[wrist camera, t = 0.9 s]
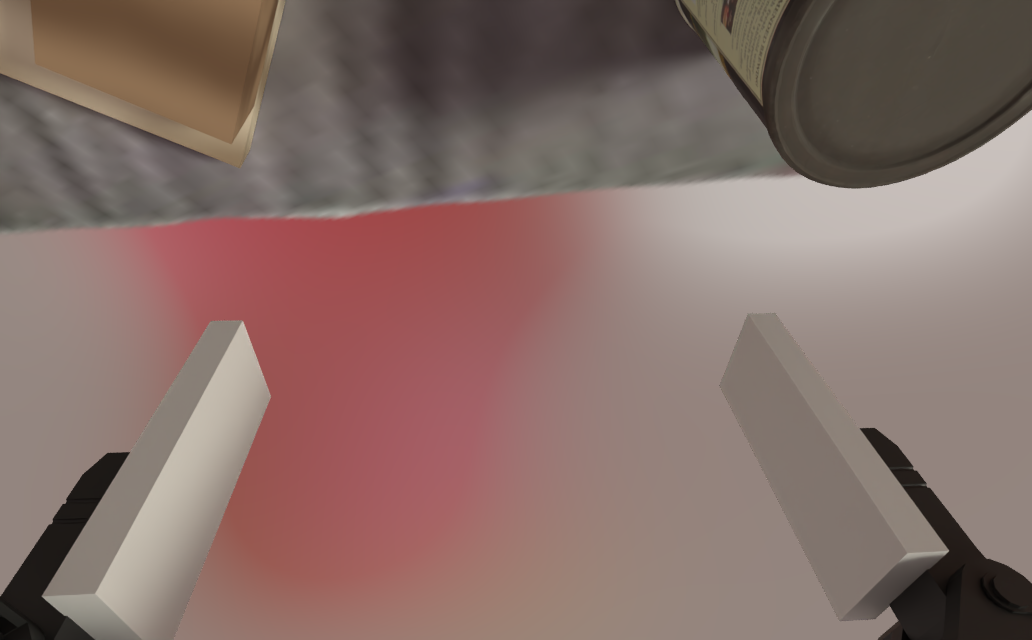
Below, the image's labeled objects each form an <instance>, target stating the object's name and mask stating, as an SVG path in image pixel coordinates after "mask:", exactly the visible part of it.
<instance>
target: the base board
mask: <svg viewBox="0 0 1032 640" xmlns="http://www.w3.org/2000/svg"><path fill="white" fill-rule="evenodd" d="M285 1H286V0H279V1H278V5H277V9H276V14H275V18H274V22H273V27H272V31H271V35H270V40H269V44H268V48H267V53H266V57H265V61H264V66H263V70H262V74H261V79H260V83H259V87H258V92H257V96H256V100H255V105H254V107H253V109H252V111H251V113H250V114H249V116H248V118H247V119H246V121H245V123H244V124H243V126H242V128H241V129H240V131H239V133H238V134H237V136H236V138H235V139H234V141H233V143H232V144H229V143H226V142H224V141H222V140H219V139H217V138H214V137H212V136H209V135H207V134H205V133H202V132H200V131H197V130H195V129H192V128H190V127H188V126H185V125H183V124H180V123H178V122H175V121H173V120H170V119H168V118H166V117H163V116H161V115H158V114H156V113H153V112H151V111H149V110H146V109H144V108H141V107H139V106H136V105H134V104H132V103H129V102H127V101H124V100H122V99H119V98H117V97H115V96H112V95H110V94H107V93H105V92H102V91H100V90H98V89H95V88H93V87H90V86H88V85H85V84H83V83H80V82H78V81H76V80H73V79H71V78H68V77H66V76H63V75H61V74H59V73H56V72H54V71H51V70H49V69H46V68H44V67H42V66H39V65H37V64H35V56H34V42H33V29H32V15H31V2H30V0H0V73H1V74H4V75H6V76H9V77H11V78H14V79H16V80H19V81H21V82H24V83H26V84H29V85H31V86H34V87H36V88H39V89H41V90H44V91H47V92H49V93H52V94H54V95H57V96H59V97H62V98H64V99H67V100H69V101H72V102H74V103H77V104H79V105H82V106H84V107H87V108H89V109H92V110H94V111H97V112H99V113H102V114H105V115H107V116H110V117H112V118H115V119H117V120H120V121H122V122H125V123H127V124H130V125H132V126H135V127H137V128H140V129H142V130H145V131H147V132H150V133H152V134H155V135H157V136H160V137H163V138H165V139H168V140H170V141H173V142H175V143H178V144H180V145H183V146H185V147H188V148H190V149H193V150H195V151H198V152H200V153H203V154H205V155H208V156H210V157H213V158H216V159H218V160H221V161H223V162H226V163H228V164H231V165H233V166H236V167H238V168H240V167H241V166H242V164H243V162H244V160H245V158H246V156H247V155H248V153H249V151H250V147H251V143H252V139H253V134H254V130H255V126H256V122H257V118H258V114H259V109H260V105H261V101H262V97H263V93H264V89H265V84H266V80H267V76H268V72H269V68H270V64H271V59H272V55H273V51H274V47H275V43H276V39H277V34H278V30H279V26H280V22H281V18H282V14H283V9H284V5H285Z"/></svg>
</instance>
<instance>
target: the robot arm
mask: <svg viewBox="0 0 1032 640" xmlns="http://www.w3.org/2000/svg"><path fill="white" fill-rule="evenodd" d="M719 386H720V388H721V390H722V392H723V394H724V395H725V398H726V400H727V401H728V403H729V405H730V407H731V409H732V411H733V413H734V415H735V417H736V419H737V421H738V423H739V425H740V427H741V429H742V431H743V433H744V435H745V437H746V438H747V440H748V442H749V445H750V447H751V449H752V451H753V452H754V454H755V456H756V458H757V460H758V462H759V464H760V466H761V468H762V470H763V472H764V474H765V476H766V478H767V480H768V482H769V484H770V486H771V488H772V490H773V492H774V494H775V495H776V498H777V500H778V502H779V503H780V505H781V507H782V509H783V511H784V513H785V515H786V517H787V519H788V521H789V523H790V525H791V527H792V529H793V531H794V533H795V535H796V537H797V539H798V541H799V543H800V545H801V547H802V549H803V551H804V553H805V555H806V557H807V558H808V560H809V562H810V564H811V566H812V568H813V570H814V572H815V574H816V576H817V578H818V580H819V582H820V584H821V586H822V588H823V589H824V592H825V594H826V596H827V598H828V600H829V601H830V604H831V606H832V608H833V609H834V611H835V613H836V615H837V617H838V619H839V621H851V620H868V619H876V618H877V617H878V616H879V615H880V614H881V613H882V612H883V611H884V610H885V609H886V608H888V607H889V606H890V607H891V608H892V610H893V612H894V613H895V615H896V617H897V619H898V620H899V621H898V622H897V623H895V625H893V626H892V627H891V628H890V629H889V630H887V631H886V632H885V633H884V634H883V635H882V636H881V637H879V638H878V640H1032V583H1030V582H1029V581H1028V580H1027V579H1026V578H1025V577H1024V576H1023V575H1021V574H1020V573H1018V572H1016V571H1015V570H1013V569H1012V568H1010V567H1008V566H1007V565H1004V564H1002V563H999V562H996V561H993V560H991V559H986V558H985V557H984V556H983V555H982V554H981V552H980V551H979V550H978V549H977V548H976V546H975V545H974V544H973V543H972V541H971V540H970V539H969V538H968V536H967V535H966V533H965V532H964V531H963V530H962V528H961V527H960V526H959V524H958V523H957V522H956V521H955V519H954V518H953V517H952V515H951V514H950V513H949V512H948V510H947V509H946V508H945V507H944V505H943V504H942V503H941V501H940V500H939V499H938V498H937V496H936V495H935V494H934V492H933V491H932V490H931V489H930V488H927V486H926V482H925V481H924V480H923V478H922V477H921V476H920V474H919V473H918V472H917V471H914V470H913V466H912V464H911V463H910V462H909V460H908V459H907V458H906V456H905V455H904V454H903V453H902V451H901V450H900V449H899V447H898V446H897V445H896V444H894V443H893V442H892V441H891V440H889V439H888V438H887V437H885V436H884V435H883V434H882V433H880V432H879V431H878V430H877V429H875V428H859V427H858V426H857V425H856V423H855V422H854V420H853V419H852V417H851V416H850V415H849V413H848V412H847V411H846V409H845V408H844V407H843V405H842V404H841V403H840V401H839V400H838V398H837V397H836V396H835V394H834V393H833V392H832V390H831V389H830V387H829V386H828V385H827V383H826V382H825V381H824V379H823V378H822V377H821V375H820V374H819V372H818V371H817V370H816V368H815V367H814V366H813V364H812V363H811V362H810V360H809V359H808V357H807V356H806V355H805V353H804V352H803V351H802V349H801V348H800V347H799V345H798V344H797V343H796V341H795V340H794V339H793V337H792V336H791V334H790V333H789V331H788V330H787V329H786V327H785V326H784V325H783V323H782V322H781V321H780V319H779V318H778V317H777V315H776V314H775V313H772V314H771V313H766V314H748V315H747V317H746V320H745V322H744V325H743V328H742V330H741V333H740V335H739V337H738V340H737V343H736V345H735V348H734V350H733V353H732V355H731V358H730V360H729V363H728V365H727V368H726V370H725V373H724V375H723V378H722V380H721V383H720V385H719ZM270 397H271V396H270V393H269V390H268V387H267V385H266V382H265V379H264V377H263V374H262V371H261V369H260V366H259V363H258V360H257V358H256V355H255V352H254V350H253V347H252V345H251V342H250V339H249V336H248V334H247V331H246V328H245V325H244V323H243V321H211V322H210V323H209V325H208V327H207V328H206V330H205V331H204V333H203V335H202V336H201V338H200V340H199V341H198V343H197V344H196V346H195V348H194V350H193V351H192V353H191V354H190V356H189V358H188V359H187V361H186V362H185V364H184V366H183V367H182V369H181V371H180V372H179V374H178V376H177V377H176V379H175V380H174V382H173V384H172V385H171V387H170V388H169V390H168V392H167V393H166V395H165V397H164V398H163V400H162V401H161V403H160V405H159V406H158V408H157V410H156V411H155V413H154V414H153V416H152V418H151V419H150V421H149V423H148V424H147V426H146V427H145V429H144V431H143V433H142V434H141V436H140V437H139V439H138V441H137V442H136V444H135V446H134V447H133V449H132V450H131V452H123V453H107V454H106V455H105V456H104V457H102V458H101V459H100V460H99V461H98V462H97V463H96V464H94V465H93V466H92V467H91V468H90V469H89V470H88V471H86V472H85V473H84V474H83V475H82V476H81V478H80V480H79V481H78V482H77V484H76V485H75V487H74V488H73V490H72V491H71V493H70V494H69V496H68V497H67V499H66V500H67V502H66V504H63V505H62V506H61V508H60V509H59V511H58V512H57V514H56V515H55V516H54V518H53V523H52V524H50V525H48V527H47V529H46V530H45V531H44V533H43V534H42V536H41V537H40V539H39V540H38V542H37V543H36V545H35V546H34V548H33V549H32V551H31V552H30V554H29V555H28V557H27V558H26V560H25V561H24V563H23V564H22V566H21V567H20V569H19V570H18V572H17V573H16V574H15V576H14V577H13V579H12V580H11V582H10V584H9V585H8V586H7V588H6V589H5V591H4V592H3V594H2V595H1V596H0V640H173V639H174V637H175V634H176V632H177V629H178V627H179V624H180V621H181V619H182V617H183V614H184V612H185V609H186V607H187V604H188V602H189V599H190V597H191V594H192V592H193V589H194V587H195V584H196V582H197V579H198V576H199V574H200V572H201V569H202V567H203V564H204V562H205V559H206V557H207V554H208V552H209V549H210V547H211V544H212V542H213V539H214V537H215V534H216V532H217V529H218V527H219V524H220V522H221V520H222V517H223V515H224V512H225V509H226V507H227V504H228V502H229V500H230V497H231V495H232V492H233V490H234V487H235V484H236V482H237V480H238V477H239V475H240V472H241V470H242V467H243V465H244V462H245V460H246V457H247V455H248V452H249V450H250V447H251V445H252V442H253V439H254V437H255V435H256V432H257V430H258V427H259V425H260V422H261V420H262V417H263V415H264V412H265V410H266V407H267V405H268V402H269V400H270Z"/></svg>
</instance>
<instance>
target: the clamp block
mask: <svg viewBox="0 0 1032 640" xmlns="http://www.w3.org/2000/svg"><path fill="white" fill-rule="evenodd" d="M278 1H279V0H30V2H31V15H32V29H33V42H34V56H35V64H37V65H39V66H42V67H44V68H46V69H49V70H51V71H54V72H56V73H59V74H61V75H63V76H66V77H68V78H71V79H73V80H76V81H78V82H80V83H83V84H85V85H88V86H90V87H93V88H95V89H98V90H100V91H102V92H105V93H107V94H110V95H112V96H115V97H117V98H119V99H122V100H124V101H127V102H129V103H132V104H134V105H136V106H139V107H141V108H144V109H146V110H149V111H151V112H153V113H156V114H158V115H161V116H163V117H166V118H168V119H170V120H173V121H175V122H178V123H180V124H183V125H185V126H188V127H190V128H192V129H195V130H197V131H200V132H202V133H205V134H207V135H209V136H212V137H214V138H217V139H219V140H222V141H224V142H226V143H229V144H232V143H233V141H234V139H235V138H236V136H237V134H238V133H239V131H240V129H241V128H242V126H243V124H244V123H245V121H246V119H247V118H248V116H249V114H250V113H251V111H252V109H253V107H254V105H255V100H256V96H257V92H258V87H259V83H260V79H261V74H262V70H263V66H264V61H265V57H266V53H267V48H268V44H269V40H270V35H271V31H272V27H273V22H274V18H275V14H276V9H277V5H278Z"/></svg>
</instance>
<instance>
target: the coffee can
mask: <svg viewBox="0 0 1032 640" xmlns="http://www.w3.org/2000/svg"><path fill="white" fill-rule="evenodd" d="M675 1H676V5H677V7H678V9H679V11H680V13H681V15H682V16H683V18H684V19H685V21H686V22H687V24H688V25H689V26H690V27H691V28H692V29H693V30H694V31H695V32H696V33H697V35H698V36H699V37H700V39H701V40H702V41H703V42H704V44H705V45H706V47H707V48H708V49H709V51H710V52H711V53H712V55H713V56H714V57H715V59H716V60H717V61H718V63H719V64H720V65H721V67H722V68H723V69H724V71H725V72H726V73H727V75H728V76H729V77H730V79H731V80H732V81H733V83H734V84H735V86H736V87H737V89H738V90H739V92H740V93H741V94H742V96H743V97H744V99H745V100H746V101H747V102H748V104H749V105H750V106H751V108H752V109H753V110H754V112H755V113H756V114H757V116H758V117H759V118H760V120H761V121H762V123H763V124H764V125H765V127H766V128H767V130H768V133H769V136H770V138H771V140H772V142H773V144H774V146H775V148H776V149H777V151H778V152H779V154H780V155H781V157H782V158H783V159H784V160H785V161H786V163H787V164H788V165H789V166H790V167H791V168H793V169H794V170H795V171H796V172H797V173H799V174H801V175H803V176H804V177H806V178H808V179H810V180H813V181H815V182H818V183H821V184H825V185H829V186H835V187H842V188H871V187H877V186H883V185H889V184H893V183H897V182H901V181H904V180H908V179H911V178H914V177H917V176H920V175H923V174H926V173H928V172H931V171H933V170H935V169H938V168H941V167H943V166H945V165H947V164H949V163H951V162H954V161H956V160H958V159H959V158H961V157H963V156H965V155H967V154H969V153H970V152H972V151H974V150H976V149H977V148H979V147H981V146H982V145H984V144H985V143H987V142H989V141H990V140H991V139H993V138H995V137H996V136H998V135H999V134H1000V133H1002V132H1003V131H1005V130H1006V129H1007V128H1009V127H1010V126H1011V125H1013V124H1014V123H1015V122H1017V121H1018V120H1019V119H1020V118H1022V117H1023V116H1024V115H1026V113H1028V112H1029V111H1031V110H1032V0H675Z"/></svg>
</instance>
